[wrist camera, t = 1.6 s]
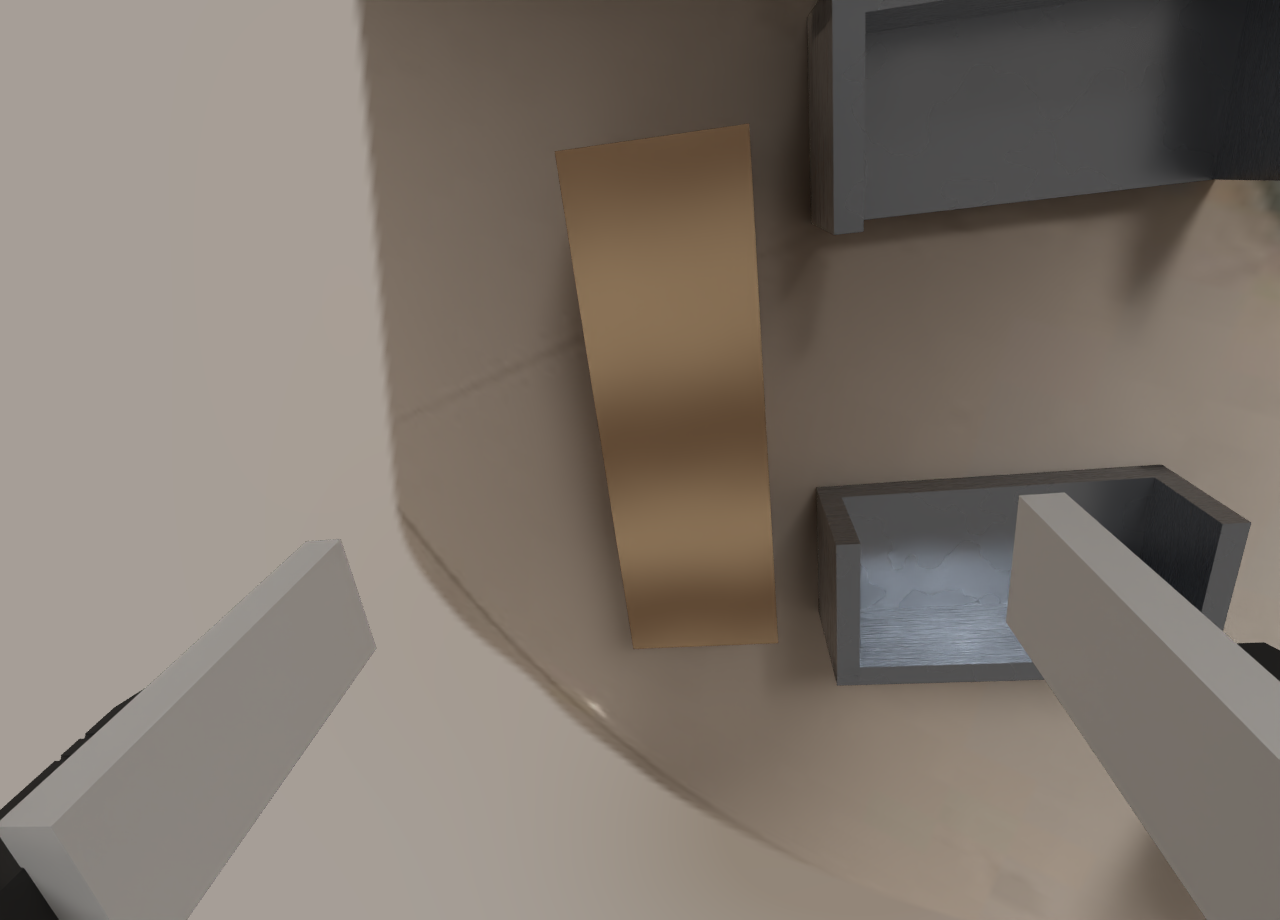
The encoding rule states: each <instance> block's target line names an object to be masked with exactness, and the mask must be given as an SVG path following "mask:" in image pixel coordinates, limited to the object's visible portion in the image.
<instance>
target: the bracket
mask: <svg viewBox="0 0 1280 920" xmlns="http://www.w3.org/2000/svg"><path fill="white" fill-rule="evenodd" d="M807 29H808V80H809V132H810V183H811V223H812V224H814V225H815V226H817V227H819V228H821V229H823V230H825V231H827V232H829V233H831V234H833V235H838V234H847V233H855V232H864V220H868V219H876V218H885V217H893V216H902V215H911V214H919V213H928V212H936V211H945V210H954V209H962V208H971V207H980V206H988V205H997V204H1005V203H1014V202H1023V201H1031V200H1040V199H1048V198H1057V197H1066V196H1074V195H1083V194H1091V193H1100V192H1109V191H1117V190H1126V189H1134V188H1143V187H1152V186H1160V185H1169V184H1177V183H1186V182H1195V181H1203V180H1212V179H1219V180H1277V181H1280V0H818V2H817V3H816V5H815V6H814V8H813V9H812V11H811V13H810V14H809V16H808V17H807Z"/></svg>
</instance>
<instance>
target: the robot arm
mask: <svg viewBox="0 0 1280 920" xmlns="http://www.w3.org/2000/svg"><path fill="white" fill-rule="evenodd" d="M1006 623H1007V624H1008V626H1009V627H1010V629H1011V630H1012V632H1013V633H1014V635H1015V636H1016V638H1017V639H1018V641H1019V642H1020V644H1021V645H1022V647H1023V648H1024V650H1025V651H1026V653H1027V654H1028V656H1029V657H1030V659H1031V660H1032V662H1033V663H1034V664H1035V666H1036V667H1037V669H1038V670H1039V672H1040V673H1041V675H1042V676H1043V678H1044V679H1045V681H1046V682H1047V684H1048V685H1049V687H1050V688H1051V690H1052V691H1053V693H1054V694H1055V696H1056V697H1057V699H1058V700H1059V702H1060V703H1061V705H1062V706H1063V707H1064V709H1065V710H1066V712H1067V713H1068V715H1069V716H1070V718H1071V719H1072V721H1073V722H1074V724H1075V725H1076V727H1077V728H1078V730H1079V731H1080V733H1081V734H1082V736H1083V737H1084V739H1085V740H1086V742H1087V743H1088V745H1089V746H1090V748H1091V749H1092V750H1093V752H1094V753H1095V755H1096V756H1097V758H1098V759H1099V761H1100V762H1101V764H1102V765H1103V767H1104V768H1105V770H1106V771H1107V773H1108V774H1109V776H1110V777H1111V779H1112V780H1113V782H1114V783H1115V785H1116V786H1117V788H1118V789H1119V791H1120V792H1121V794H1122V795H1123V796H1124V798H1125V799H1126V801H1127V802H1128V804H1129V805H1130V807H1131V808H1132V810H1133V811H1134V813H1135V814H1136V816H1137V817H1138V819H1139V820H1140V822H1141V823H1142V825H1143V826H1144V828H1145V829H1146V831H1147V832H1148V834H1149V835H1150V837H1151V838H1152V839H1153V841H1154V842H1155V844H1156V845H1157V847H1158V848H1159V850H1160V851H1161V853H1162V854H1163V856H1164V857H1165V859H1166V860H1167V862H1168V863H1169V865H1170V866H1171V868H1172V869H1173V871H1174V872H1175V874H1176V875H1177V877H1178V878H1179V880H1180V881H1181V882H1182V884H1183V885H1184V887H1185V888H1186V890H1187V891H1188V893H1189V894H1190V896H1191V897H1192V899H1193V900H1194V902H1195V903H1196V905H1197V906H1198V908H1199V909H1200V911H1201V912H1202V914H1203V915H1204V917H1205V918H1206V920H1280V650H1278V649H1276V648H1274V647H1272V646H1270V645H1268V644H1266V643H1238V644H1236V643H1235V642H1234V641H1233V640H1232V639H1231V638H1230V637H1229V636H1227V635H1226V634H1225V633H1224V632H1223V631H1222V630H1221V629H1219V628H1218V627H1217V626H1216V625H1215V624H1214V623H1213V622H1211V621H1210V620H1209V619H1208V618H1207V617H1206V616H1205V615H1203V614H1202V613H1201V612H1200V611H1199V610H1198V609H1197V608H1196V607H1194V606H1193V605H1192V604H1191V603H1190V602H1189V601H1188V600H1186V599H1185V598H1184V597H1183V596H1182V595H1181V594H1180V593H1178V592H1177V591H1176V590H1175V589H1174V588H1173V587H1172V586H1171V585H1169V584H1168V583H1167V582H1166V581H1165V580H1164V579H1163V578H1161V577H1160V576H1159V575H1158V574H1157V573H1156V572H1155V571H1153V570H1152V569H1151V568H1150V567H1149V566H1148V565H1147V564H1145V563H1144V562H1143V561H1142V560H1141V559H1140V558H1139V557H1138V556H1136V555H1135V554H1134V553H1133V552H1132V551H1131V550H1130V549H1128V548H1127V547H1126V546H1125V545H1124V544H1123V543H1122V542H1120V541H1119V540H1118V539H1117V538H1116V537H1115V536H1114V535H1112V534H1111V533H1110V532H1109V531H1108V530H1107V529H1106V528H1105V527H1103V526H1102V525H1101V524H1100V523H1099V522H1098V521H1097V520H1095V519H1094V518H1093V517H1092V516H1091V515H1090V514H1089V513H1087V512H1086V511H1085V510H1084V509H1083V508H1082V507H1081V506H1079V505H1078V504H1077V503H1076V502H1075V501H1074V500H1073V499H1072V498H1070V497H1069V496H1068V495H1067V494H1066V493H1065V492H1064V493H1048V494H1033V495H1019V501H1018V511H1017V521H1016V530H1015V540H1014V549H1013V559H1012V568H1011V578H1010V587H1009V597H1008V606H1007V616H1006ZM375 650H376V645H375V642H374V639H373V636H372V633H371V630H370V627H369V624H368V621H367V618H366V615H365V612H364V609H363V606H362V603H361V600H360V596H359V593H358V591H357V587H356V584H355V581H354V578H353V575H352V572H351V569H350V566H349V563H348V560H347V557H346V554H345V551H344V548H343V545H342V542H341V539H335V540H320V541H306V542H305V543H304V544H303V545H302V546H300V547H299V548H298V549H297V550H296V551H295V552H294V553H293V554H292V555H291V556H289V557H288V558H287V559H286V560H285V561H284V562H283V563H282V564H281V565H280V566H279V567H277V568H276V569H275V570H274V571H273V572H272V573H271V574H270V575H269V576H268V577H266V578H265V579H264V580H263V581H262V582H261V583H260V584H259V585H258V586H257V587H256V588H255V589H253V590H252V591H251V592H250V593H249V594H248V595H247V596H246V597H245V598H243V599H242V600H241V601H240V602H239V603H238V604H237V605H236V606H235V607H234V608H233V609H231V610H230V611H229V612H228V613H227V614H226V615H225V616H224V617H223V618H222V619H221V620H219V621H218V622H217V623H216V624H215V625H214V626H213V627H212V628H211V629H209V630H208V631H207V633H205V634H204V635H203V636H202V637H201V638H200V639H199V640H198V641H196V642H195V643H194V644H193V645H192V646H191V647H190V648H189V649H188V650H186V651H185V652H184V653H183V654H182V655H181V656H180V657H179V658H178V659H177V660H176V661H174V662H173V663H172V664H171V665H170V666H169V667H168V668H167V669H166V670H165V671H164V672H162V673H161V674H160V675H159V676H158V677H157V678H156V679H155V680H154V681H153V682H152V683H150V684H149V685H148V686H147V687H146V688H145V689H143V690H141V691H140V692H139V693H137V694H135V695H133V696H132V697H130V698H129V699H127V700H126V701H124V702H123V703H121V704H119V705H118V706H116V707H115V708H113V709H112V710H111V711H110V712H109V713H108V714H107V715H106V716H104V717H103V718H102V719H101V720H100V721H99V722H98V723H97V724H96V725H95V726H93V727H92V728H91V729H90V730H89V731H88V732H87V733H86V736H85V738H84V739H79V740H78V741H77V742H75V744H74V745H72V746H71V747H70V748H69V749H68V750H67V751H66V752H64V753H63V754H62V755H61V760H60V761H54V762H53V763H52V764H51V765H50V766H49V767H48V768H46V769H45V770H44V771H43V772H42V773H41V774H40V775H39V776H38V777H36V778H35V779H34V780H33V781H32V782H31V783H30V784H29V785H28V786H26V787H25V788H24V789H23V790H22V791H21V792H20V793H19V794H18V795H16V796H15V797H14V798H13V799H12V800H11V801H10V802H9V803H7V805H5V806H4V807H3V808H2V809H1V810H0V920H187V919H188V917H189V916H190V914H191V913H192V912H193V910H194V909H195V907H196V906H197V904H198V903H199V902H200V900H201V899H202V897H203V896H204V894H205V893H206V892H207V890H208V889H209V887H210V886H211V884H212V883H213V882H214V880H215V879H216V877H217V876H218V874H219V873H220V872H221V870H222V869H223V867H224V866H225V864H226V863H227V862H228V860H229V858H230V857H231V856H232V854H233V853H234V852H235V850H236V849H237V847H238V846H239V844H240V843H241V841H242V840H243V839H244V837H245V836H246V834H247V833H248V831H249V830H250V829H251V827H252V826H253V824H254V823H255V821H256V820H257V818H258V817H259V816H260V814H261V813H262V811H263V810H264V809H265V807H266V806H267V804H268V803H269V801H270V799H272V797H273V796H274V794H275V793H276V791H277V790H278V788H279V787H280V786H281V784H282V783H283V781H284V780H285V778H286V777H287V775H288V774H289V773H290V771H291V770H292V768H293V767H294V766H295V764H296V763H297V761H298V760H299V758H300V757H301V755H302V754H303V752H304V751H305V750H306V748H307V747H308V745H309V744H310V743H311V741H312V740H313V738H314V737H315V736H316V734H317V732H318V731H319V730H320V728H321V727H322V725H323V724H324V722H325V721H326V720H327V718H328V717H329V715H330V714H331V712H332V711H333V710H334V708H335V707H336V705H337V704H338V703H339V701H340V700H341V698H342V697H343V695H344V694H345V692H346V691H347V690H348V688H349V687H350V685H351V684H352V682H353V681H354V679H355V678H356V677H357V675H358V674H359V672H360V671H361V670H362V668H363V667H364V665H365V664H366V662H367V661H368V660H369V658H370V657H371V655H372V654H373V652H374V651H375Z"/></svg>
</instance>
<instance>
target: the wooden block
mask: <svg viewBox="0 0 1280 920" xmlns="http://www.w3.org/2000/svg"><path fill="white" fill-rule="evenodd" d="M555 157H556V163H557V169H558V176H559V182H560V188H561V195H562V201H563V207H564V214H565V220H566V226H567V233H568V239H569V245H570V251H571V258H572V264H573V270H574V277H575V283H576V289H577V296H578V302H579V308H580V315H581V321H582V327H583V333H584V340H585V346H586V352H587V359H588V365H589V371H590V378H591V384H592V390H593V397H594V403H595V409H596V415H597V422H598V428H599V434H600V441H601V447H602V453H603V460H604V466H605V472H606V479H607V485H608V491H609V497H610V504H611V510H612V516H613V523H614V529H615V535H616V542H617V548H618V554H619V561H620V567H621V573H622V580H623V586H624V592H625V598H626V605H627V611H628V617H629V624H630V630H631V636H632V643H633V649H644V648H669V647H694V646H719V645H744V644H769V643H778V632H777V614H776V596H775V578H774V560H773V542H772V525H771V507H770V489H769V471H768V453H767V435H766V417H765V399H764V381H763V364H762V346H761V328H760V310H759V292H758V274H757V256H756V238H755V220H754V203H753V185H752V167H751V149H750V131H749V124H742V125H735V126H728V127H721V128H714V129H707V130H700V131H693V132H686V133H679V134H672V135H665V136H658V137H651V138H645V139H638V140H631V141H624V142H617V143H610V144H603V145H596V146H589V147H582V148H575V149H568V150H561V151H555Z"/></svg>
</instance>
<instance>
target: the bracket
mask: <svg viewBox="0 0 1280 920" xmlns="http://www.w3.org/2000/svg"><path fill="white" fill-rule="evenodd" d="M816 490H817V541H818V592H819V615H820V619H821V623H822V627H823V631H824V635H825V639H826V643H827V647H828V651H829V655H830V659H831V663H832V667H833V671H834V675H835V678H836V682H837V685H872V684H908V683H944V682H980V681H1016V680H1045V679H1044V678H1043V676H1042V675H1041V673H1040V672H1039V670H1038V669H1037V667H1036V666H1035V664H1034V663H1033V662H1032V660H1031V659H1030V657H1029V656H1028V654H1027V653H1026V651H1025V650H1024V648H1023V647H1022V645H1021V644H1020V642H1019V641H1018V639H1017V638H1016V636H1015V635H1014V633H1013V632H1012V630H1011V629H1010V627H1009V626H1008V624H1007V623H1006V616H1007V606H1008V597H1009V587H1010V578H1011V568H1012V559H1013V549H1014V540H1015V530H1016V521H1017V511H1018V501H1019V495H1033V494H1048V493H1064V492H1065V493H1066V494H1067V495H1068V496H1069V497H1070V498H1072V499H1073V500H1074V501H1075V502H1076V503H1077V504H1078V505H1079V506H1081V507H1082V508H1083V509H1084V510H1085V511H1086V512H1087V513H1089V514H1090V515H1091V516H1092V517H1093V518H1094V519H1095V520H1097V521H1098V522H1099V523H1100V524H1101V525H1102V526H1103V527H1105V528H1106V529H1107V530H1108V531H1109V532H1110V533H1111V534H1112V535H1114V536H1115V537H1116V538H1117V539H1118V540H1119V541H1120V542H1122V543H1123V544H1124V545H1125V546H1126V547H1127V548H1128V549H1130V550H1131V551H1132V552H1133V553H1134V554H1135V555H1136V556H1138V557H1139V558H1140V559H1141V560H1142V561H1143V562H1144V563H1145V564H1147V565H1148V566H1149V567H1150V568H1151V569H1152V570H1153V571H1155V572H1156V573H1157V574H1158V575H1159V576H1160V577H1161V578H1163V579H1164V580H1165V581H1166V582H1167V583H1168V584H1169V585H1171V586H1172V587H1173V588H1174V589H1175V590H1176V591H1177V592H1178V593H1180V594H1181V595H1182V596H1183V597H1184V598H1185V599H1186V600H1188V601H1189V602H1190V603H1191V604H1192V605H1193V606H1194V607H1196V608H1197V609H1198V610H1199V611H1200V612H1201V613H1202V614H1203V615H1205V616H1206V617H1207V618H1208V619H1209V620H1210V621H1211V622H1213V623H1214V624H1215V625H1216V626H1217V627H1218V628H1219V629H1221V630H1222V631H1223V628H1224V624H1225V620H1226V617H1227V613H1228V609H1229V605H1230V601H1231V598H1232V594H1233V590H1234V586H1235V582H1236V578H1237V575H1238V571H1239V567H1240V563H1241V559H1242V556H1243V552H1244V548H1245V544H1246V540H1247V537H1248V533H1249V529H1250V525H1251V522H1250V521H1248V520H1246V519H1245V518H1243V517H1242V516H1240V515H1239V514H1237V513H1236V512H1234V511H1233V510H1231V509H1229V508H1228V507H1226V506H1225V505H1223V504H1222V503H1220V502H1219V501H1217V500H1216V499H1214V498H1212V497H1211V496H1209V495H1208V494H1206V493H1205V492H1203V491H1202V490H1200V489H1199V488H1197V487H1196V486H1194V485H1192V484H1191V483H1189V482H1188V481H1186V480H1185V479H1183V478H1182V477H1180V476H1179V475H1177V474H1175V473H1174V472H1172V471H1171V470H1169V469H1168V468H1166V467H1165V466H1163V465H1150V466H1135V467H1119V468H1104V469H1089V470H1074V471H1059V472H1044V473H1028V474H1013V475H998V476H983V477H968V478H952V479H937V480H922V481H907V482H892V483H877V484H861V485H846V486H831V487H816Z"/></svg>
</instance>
